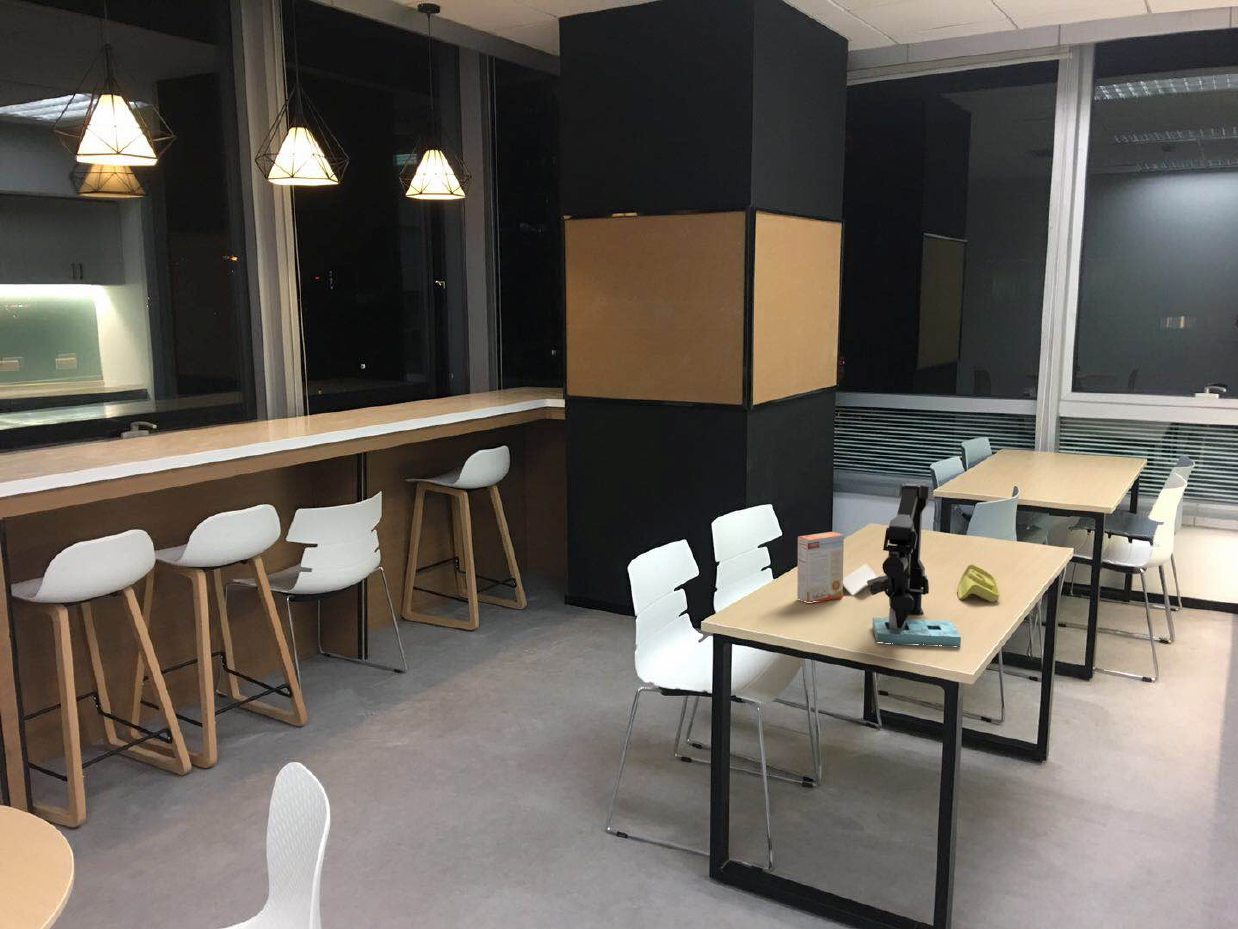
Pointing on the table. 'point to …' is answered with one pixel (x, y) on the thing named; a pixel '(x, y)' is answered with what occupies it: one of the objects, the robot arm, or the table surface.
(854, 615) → the table surface
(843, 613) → the table surface
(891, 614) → the grey cylinder
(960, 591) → the plastic component
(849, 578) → the z bracket
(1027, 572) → the table surface
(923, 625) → the plate
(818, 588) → the cracker box
